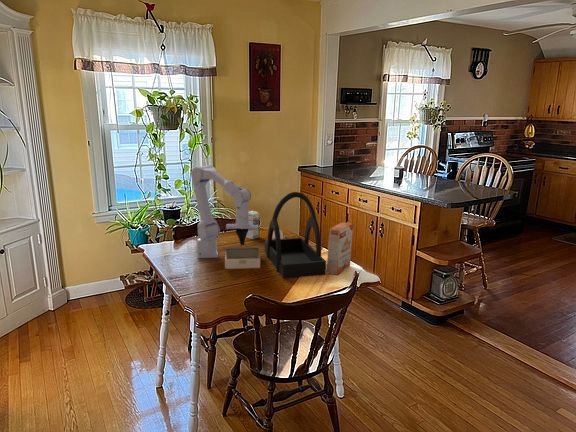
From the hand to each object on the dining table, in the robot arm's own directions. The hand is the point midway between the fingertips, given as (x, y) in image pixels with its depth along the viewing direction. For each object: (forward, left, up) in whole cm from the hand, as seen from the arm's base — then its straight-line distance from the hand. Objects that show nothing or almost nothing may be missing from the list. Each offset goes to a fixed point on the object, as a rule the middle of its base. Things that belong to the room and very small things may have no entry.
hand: (242, 244), depth 199 cm
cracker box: (+44, -7, -11) cm, 46 cm away
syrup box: (+6, +43, -11) cm, 44 cm away
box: (0, +4, -10) cm, 11 cm away
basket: (+24, +2, -11) cm, 26 cm away
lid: (0, +4, -3) cm, 5 cm away
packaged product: (+19, +34, -11) cm, 41 cm away
